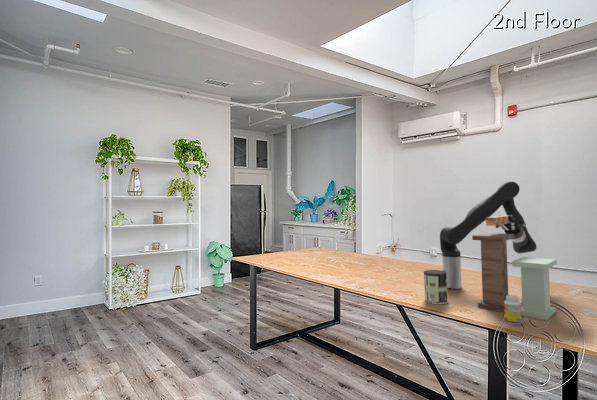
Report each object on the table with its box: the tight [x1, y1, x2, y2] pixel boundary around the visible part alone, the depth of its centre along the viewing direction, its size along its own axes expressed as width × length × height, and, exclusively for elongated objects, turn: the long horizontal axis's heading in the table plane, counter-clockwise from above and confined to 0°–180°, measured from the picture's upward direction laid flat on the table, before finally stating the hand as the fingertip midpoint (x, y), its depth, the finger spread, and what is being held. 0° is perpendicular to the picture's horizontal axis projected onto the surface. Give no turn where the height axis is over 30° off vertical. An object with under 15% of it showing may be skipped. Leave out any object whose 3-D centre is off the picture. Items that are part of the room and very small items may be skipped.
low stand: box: [511, 256, 558, 321], centre depth 145 cm, size 16×12×22 cm
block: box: [485, 214, 512, 227], centre depth 163 cm, size 24×4×4 cm, turn 132°
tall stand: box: [471, 232, 514, 313], centre depth 156 cm, size 16×12×32 cm
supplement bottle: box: [503, 294, 522, 326], centre depth 134 cm, size 6×6×10 cm
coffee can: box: [423, 269, 449, 305], centre depth 166 cm, size 10×10×14 cm
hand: (504, 217), depth 167 cm, fingers closed on block, 3 cm apart
